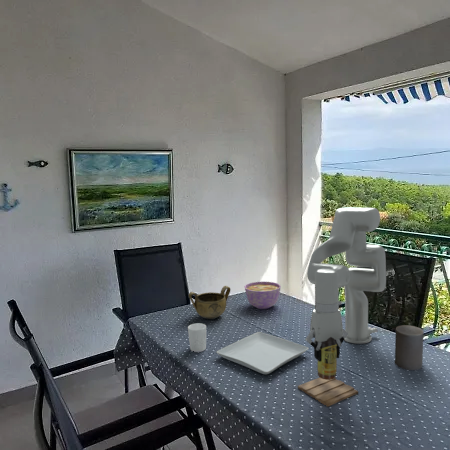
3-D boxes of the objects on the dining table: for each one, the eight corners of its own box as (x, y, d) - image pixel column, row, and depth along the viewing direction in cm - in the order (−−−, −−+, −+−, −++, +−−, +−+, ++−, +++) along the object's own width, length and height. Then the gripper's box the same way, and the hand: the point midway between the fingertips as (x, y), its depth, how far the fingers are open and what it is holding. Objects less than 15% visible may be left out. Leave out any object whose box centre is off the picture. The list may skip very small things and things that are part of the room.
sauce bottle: (326, 382, 136) (325, 324, 133) (313, 374, 142) (312, 318, 139) (341, 377, 139) (340, 320, 136) (328, 369, 144) (327, 314, 142)
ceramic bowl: (224, 308, 229) (223, 282, 227) (237, 318, 214) (236, 289, 212) (185, 315, 220) (184, 288, 218) (196, 326, 205) (195, 296, 203)
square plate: (259, 338, 188) (258, 330, 187) (310, 356, 168) (310, 347, 168) (215, 359, 169) (214, 350, 168) (267, 381, 150) (267, 371, 149)
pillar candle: (389, 361, 160) (389, 324, 158) (407, 356, 164) (408, 320, 161) (409, 373, 151) (410, 333, 149) (428, 367, 155) (430, 328, 153)
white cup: (210, 346, 180) (209, 324, 179) (202, 354, 173) (200, 331, 172) (194, 344, 184) (193, 322, 182) (185, 351, 177) (184, 328, 175)
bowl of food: (288, 305, 230) (288, 285, 229) (266, 315, 216) (265, 293, 215) (260, 298, 244) (259, 279, 243) (237, 307, 230) (236, 287, 228)
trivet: (327, 376, 151) (327, 373, 150) (357, 393, 139) (357, 390, 139) (297, 388, 143) (297, 385, 143) (327, 406, 132) (327, 403, 131)
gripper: (343, 300, 143) (343, 349, 145) (297, 306, 138) (298, 357, 141) (356, 306, 136) (356, 358, 138) (308, 313, 131) (309, 367, 134)
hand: (327, 357), depth 139 cm, fingers closed on sauce bottle, 6 cm apart
